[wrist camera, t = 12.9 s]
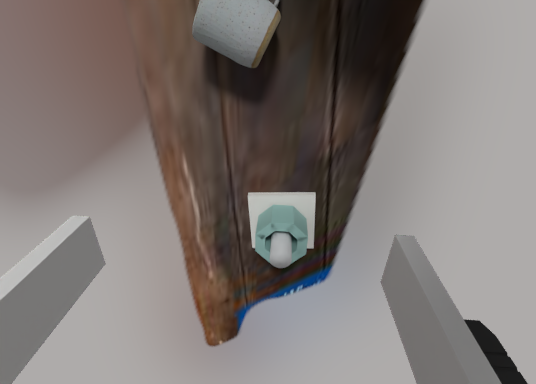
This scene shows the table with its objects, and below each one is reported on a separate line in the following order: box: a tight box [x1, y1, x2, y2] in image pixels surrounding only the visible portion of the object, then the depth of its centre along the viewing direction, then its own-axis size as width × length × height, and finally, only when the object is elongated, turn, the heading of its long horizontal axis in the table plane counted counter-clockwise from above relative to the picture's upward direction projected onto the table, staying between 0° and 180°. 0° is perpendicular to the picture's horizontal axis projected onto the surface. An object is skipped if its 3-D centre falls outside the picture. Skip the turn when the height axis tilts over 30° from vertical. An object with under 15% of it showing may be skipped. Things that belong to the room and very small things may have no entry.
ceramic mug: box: [192, 0, 281, 68], centre depth 32 cm, size 11×8×8 cm
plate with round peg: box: [248, 192, 316, 268], centre depth 46 cm, size 11×11×10 cm
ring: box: [255, 205, 308, 263], centre depth 47 cm, size 8×8×5 cm
